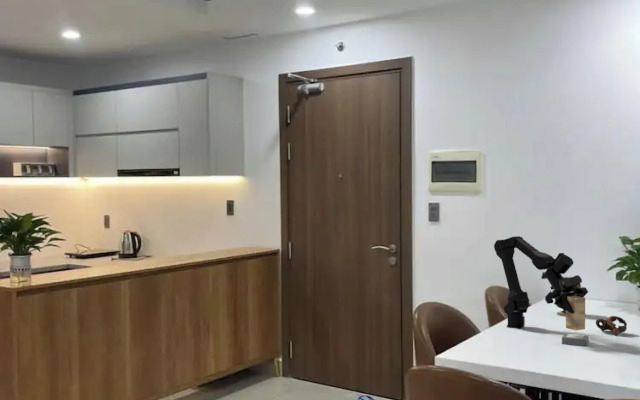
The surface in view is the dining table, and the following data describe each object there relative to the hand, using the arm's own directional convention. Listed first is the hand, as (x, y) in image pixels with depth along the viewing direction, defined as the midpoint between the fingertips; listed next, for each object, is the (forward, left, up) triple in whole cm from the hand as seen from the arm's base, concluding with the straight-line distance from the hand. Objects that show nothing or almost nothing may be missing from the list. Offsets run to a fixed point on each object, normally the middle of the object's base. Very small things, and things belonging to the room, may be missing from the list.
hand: (578, 312), depth 258 cm
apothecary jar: (-11, +61, -12) cm, 63 cm away
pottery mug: (+10, +26, -12) cm, 31 cm away
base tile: (-1, +1, -12) cm, 12 cm away
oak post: (-1, +1, -7) cm, 7 cm away
